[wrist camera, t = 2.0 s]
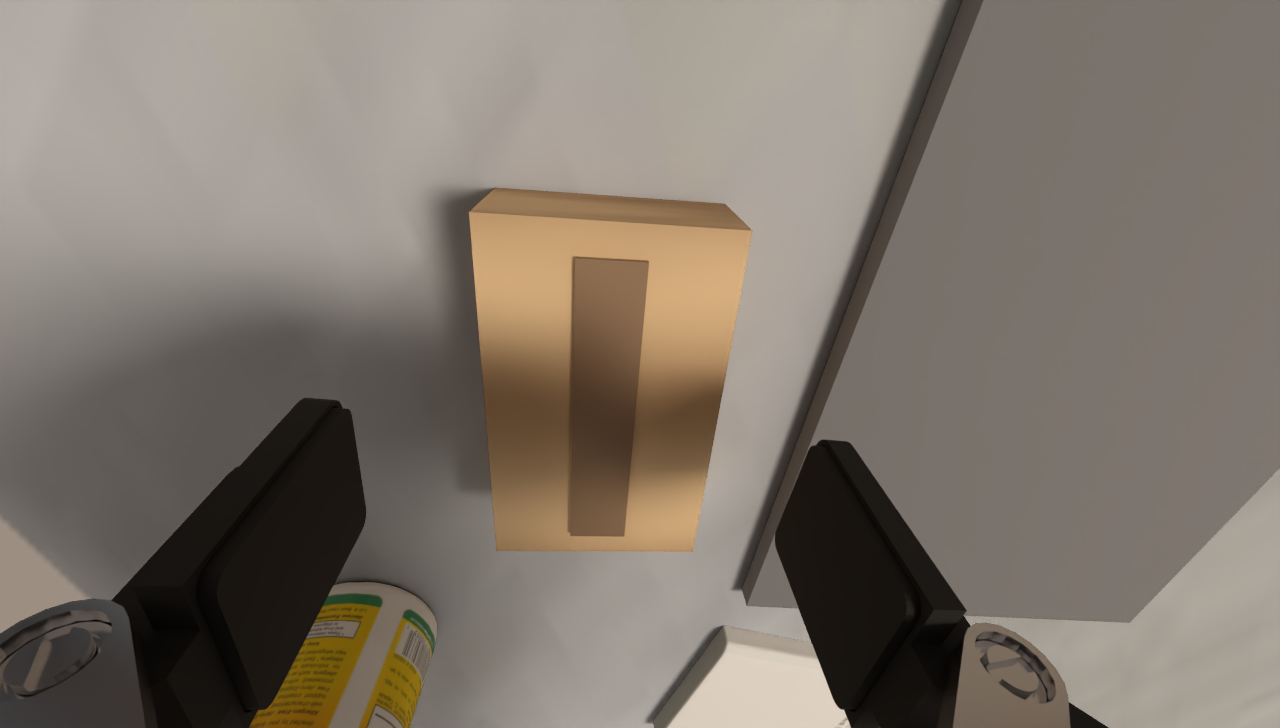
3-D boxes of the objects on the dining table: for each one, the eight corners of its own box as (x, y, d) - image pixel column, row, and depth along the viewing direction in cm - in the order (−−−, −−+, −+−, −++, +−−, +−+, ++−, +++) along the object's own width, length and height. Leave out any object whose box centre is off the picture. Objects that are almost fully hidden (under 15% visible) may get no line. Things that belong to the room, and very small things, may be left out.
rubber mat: (1114, 606, 23) (1129, 622, 23) (742, 588, 21) (746, 606, 20) (1618, 61, 13) (1676, 59, 12) (996, -91, 11) (1023, -103, 10)
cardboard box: (679, 481, 18) (693, 555, 16) (513, 478, 18) (495, 554, 15) (722, 201, 14) (754, 232, 11) (498, 185, 13) (467, 213, 10)
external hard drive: (721, 612, 23) (937, 657, 26) (651, 708, 26) (848, 738, 29) (728, 647, 21) (956, 691, 24) (654, 743, 25) (861, 772, 28)
